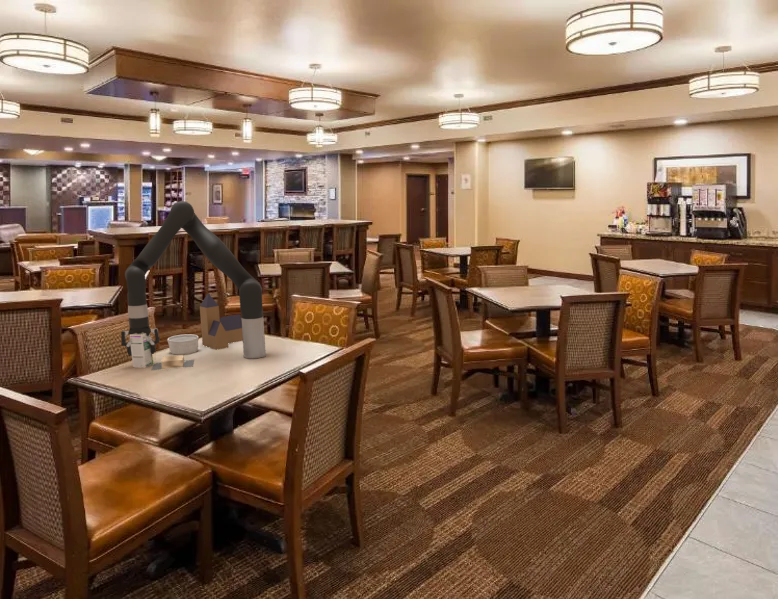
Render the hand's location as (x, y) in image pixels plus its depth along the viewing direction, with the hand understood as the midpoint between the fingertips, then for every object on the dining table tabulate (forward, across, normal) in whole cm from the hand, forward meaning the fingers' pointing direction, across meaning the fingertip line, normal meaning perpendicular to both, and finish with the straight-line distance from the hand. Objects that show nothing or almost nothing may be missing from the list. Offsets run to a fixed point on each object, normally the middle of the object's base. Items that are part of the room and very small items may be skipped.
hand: (141, 354), depth 243 cm
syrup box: (+6, 0, 0) cm, 6 cm away
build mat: (+5, -12, +3) cm, 14 cm away
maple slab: (+5, -12, +4) cm, 14 cm away
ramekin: (+6, -15, -19) cm, 25 cm away
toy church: (+6, -34, -29) cm, 45 cm away
